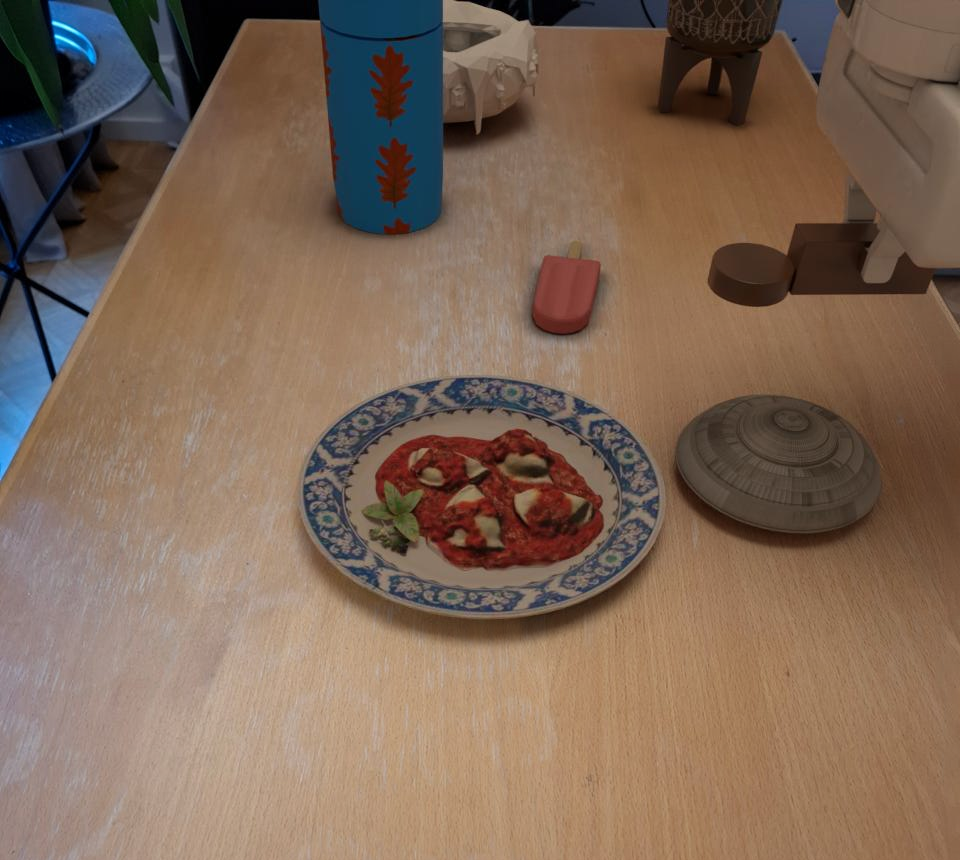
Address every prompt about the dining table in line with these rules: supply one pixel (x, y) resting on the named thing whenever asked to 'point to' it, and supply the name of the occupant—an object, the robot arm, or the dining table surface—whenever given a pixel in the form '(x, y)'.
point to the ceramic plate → (481, 496)
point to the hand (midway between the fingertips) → (861, 262)
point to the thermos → (385, 110)
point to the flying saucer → (779, 464)
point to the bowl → (484, 61)
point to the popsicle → (565, 291)
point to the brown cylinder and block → (808, 267)
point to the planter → (717, 46)
